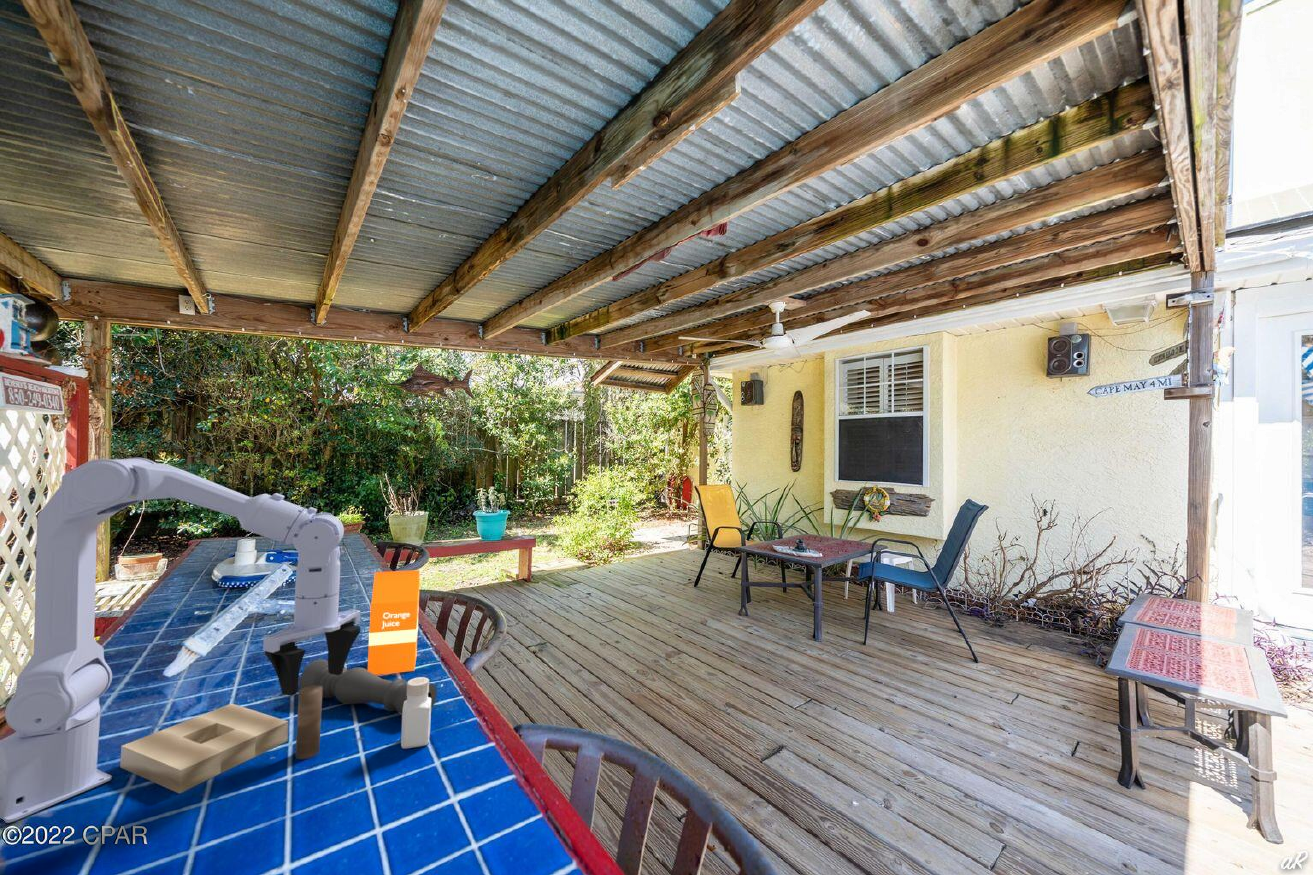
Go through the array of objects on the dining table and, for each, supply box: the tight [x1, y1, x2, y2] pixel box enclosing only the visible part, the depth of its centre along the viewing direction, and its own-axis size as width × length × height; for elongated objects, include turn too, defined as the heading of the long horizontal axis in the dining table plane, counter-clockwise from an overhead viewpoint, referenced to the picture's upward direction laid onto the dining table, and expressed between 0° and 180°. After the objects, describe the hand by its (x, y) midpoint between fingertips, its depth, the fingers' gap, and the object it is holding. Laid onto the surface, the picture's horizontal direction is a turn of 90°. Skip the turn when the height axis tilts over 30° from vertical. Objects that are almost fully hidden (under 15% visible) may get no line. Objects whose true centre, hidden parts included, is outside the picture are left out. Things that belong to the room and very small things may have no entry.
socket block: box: [119, 702, 289, 794], centre depth 79 cm, size 14×14×3 cm
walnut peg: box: [295, 685, 323, 760], centre depth 80 cm, size 3×3×10 cm
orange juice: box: [367, 569, 420, 676], centre depth 112 cm, size 8×9×20 cm
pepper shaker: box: [400, 676, 432, 749], centre depth 83 cm, size 4×4×10 cm
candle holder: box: [298, 658, 438, 716], centre depth 95 cm, size 6×6×25 cm
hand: (313, 683), depth 81 cm, fingers open, 7 cm apart
